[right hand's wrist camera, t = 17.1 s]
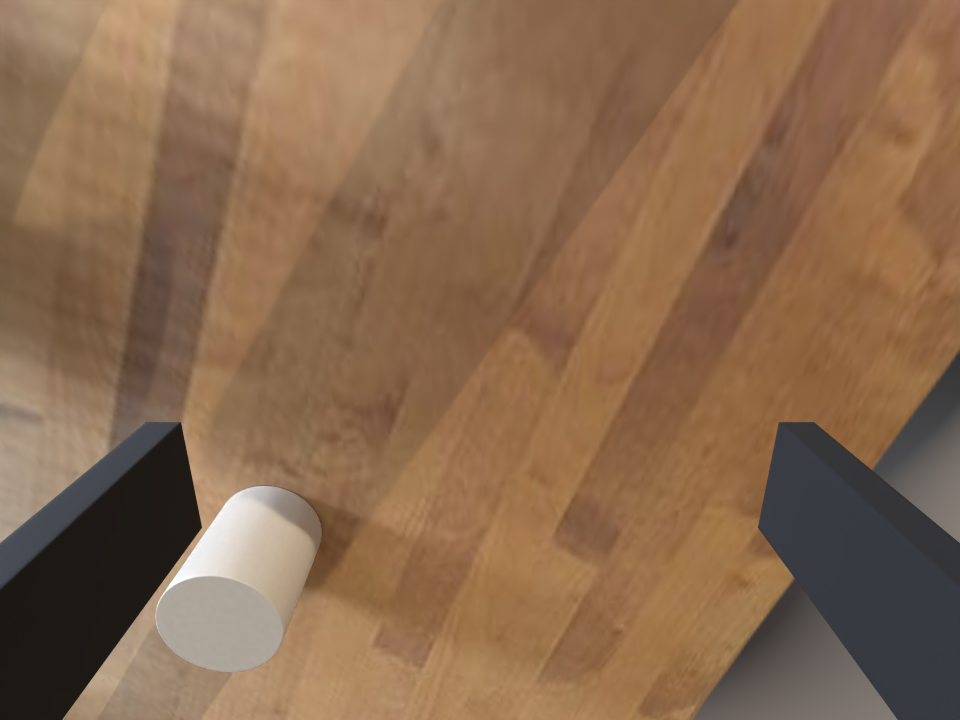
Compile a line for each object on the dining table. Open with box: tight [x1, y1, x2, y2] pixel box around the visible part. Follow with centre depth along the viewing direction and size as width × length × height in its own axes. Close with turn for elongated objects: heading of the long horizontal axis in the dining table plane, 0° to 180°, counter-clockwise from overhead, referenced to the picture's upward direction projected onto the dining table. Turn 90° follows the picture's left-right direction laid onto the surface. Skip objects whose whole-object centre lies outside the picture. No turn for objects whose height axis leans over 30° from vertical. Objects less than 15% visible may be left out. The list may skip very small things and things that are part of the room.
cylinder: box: [156, 486, 322, 672], centre depth 42 cm, size 8×8×10 cm
